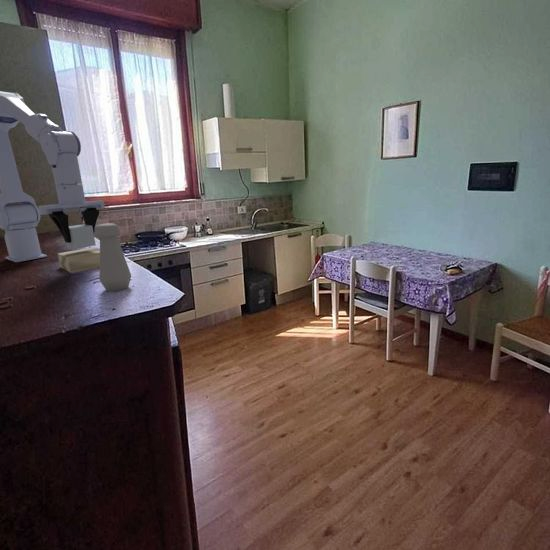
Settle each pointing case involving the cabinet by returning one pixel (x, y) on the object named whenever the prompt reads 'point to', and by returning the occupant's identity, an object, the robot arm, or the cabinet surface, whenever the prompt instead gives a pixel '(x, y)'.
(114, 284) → the salt shaker
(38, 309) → the cabinet surface
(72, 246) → the blue-grey cube
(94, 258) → the birch block
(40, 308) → the cabinet surface
